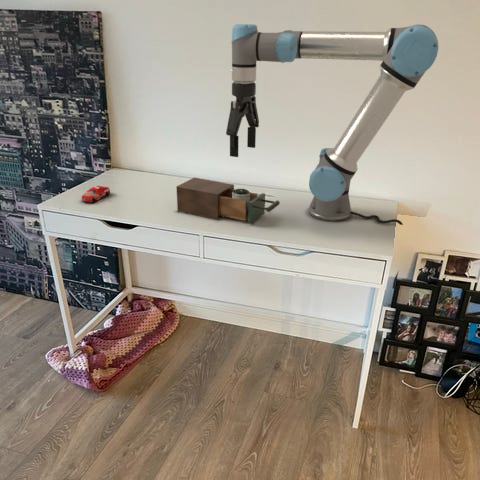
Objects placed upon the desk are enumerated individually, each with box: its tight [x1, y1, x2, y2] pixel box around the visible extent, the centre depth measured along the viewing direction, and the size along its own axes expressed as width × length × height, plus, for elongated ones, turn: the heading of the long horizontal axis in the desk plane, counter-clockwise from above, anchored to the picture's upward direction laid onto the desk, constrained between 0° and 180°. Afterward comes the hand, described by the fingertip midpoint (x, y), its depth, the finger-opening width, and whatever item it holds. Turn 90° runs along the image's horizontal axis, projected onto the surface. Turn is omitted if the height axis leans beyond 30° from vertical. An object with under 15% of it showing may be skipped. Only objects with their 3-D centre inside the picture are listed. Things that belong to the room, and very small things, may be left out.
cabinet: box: [176, 177, 235, 221], centre depth 176 cm, size 17×12×9 cm
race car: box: [80, 185, 111, 204], centre depth 185 cm, size 13×5×4 cm, turn 153°
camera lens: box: [232, 188, 250, 214], centre depth 170 cm, size 6×6×8 cm
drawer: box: [219, 188, 281, 225], centre depth 170 cm, size 22×11×7 cm, turn 63°
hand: (242, 151), depth 163 cm, fingers open, 13 cm apart
